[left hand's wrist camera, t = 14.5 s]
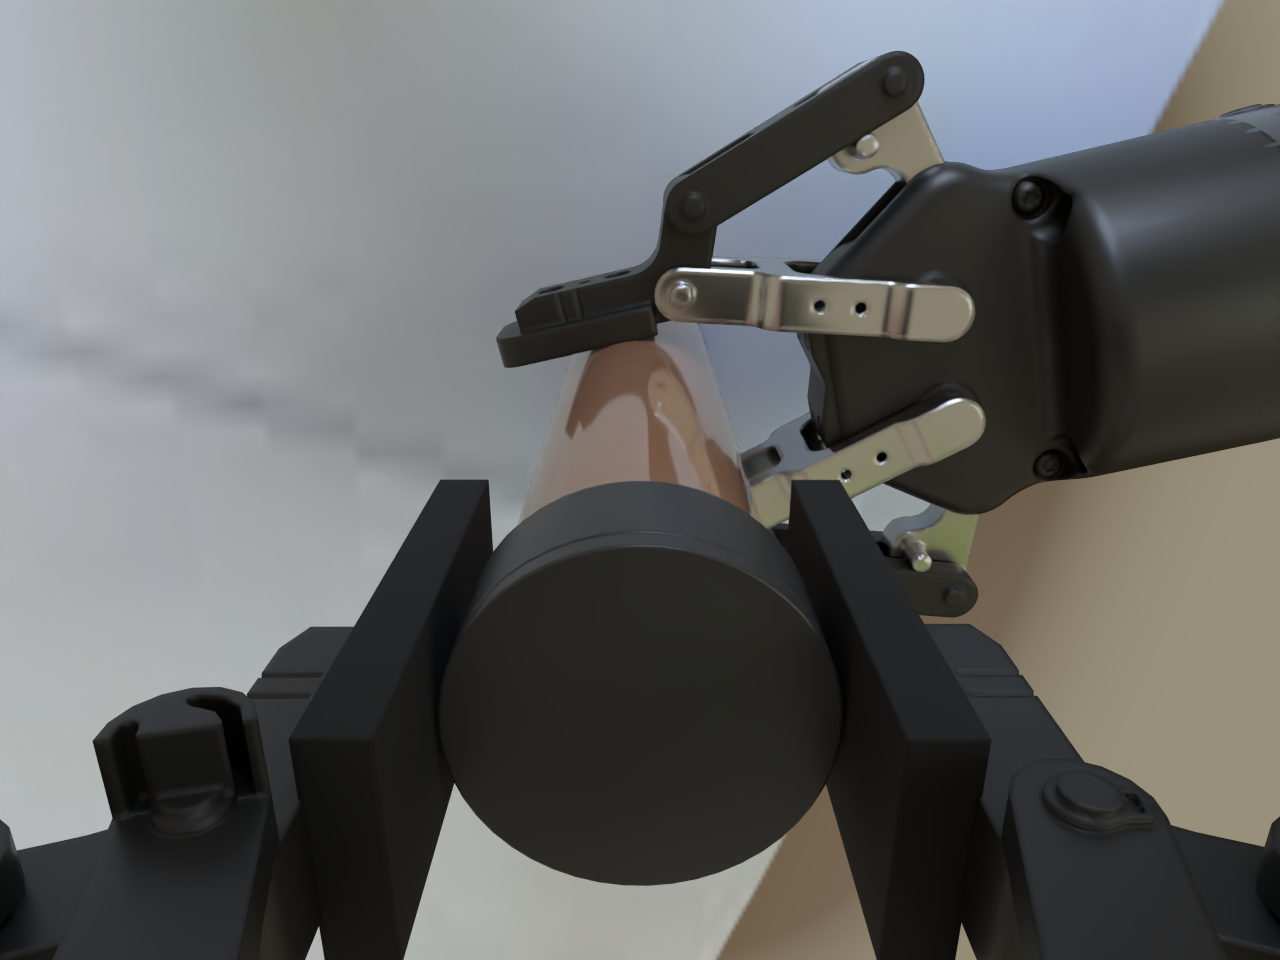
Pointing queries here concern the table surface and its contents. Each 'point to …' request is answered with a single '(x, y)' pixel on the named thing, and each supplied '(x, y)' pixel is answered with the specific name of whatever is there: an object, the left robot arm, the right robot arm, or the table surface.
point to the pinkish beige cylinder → (642, 422)
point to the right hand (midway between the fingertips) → (533, 437)
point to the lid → (640, 687)
